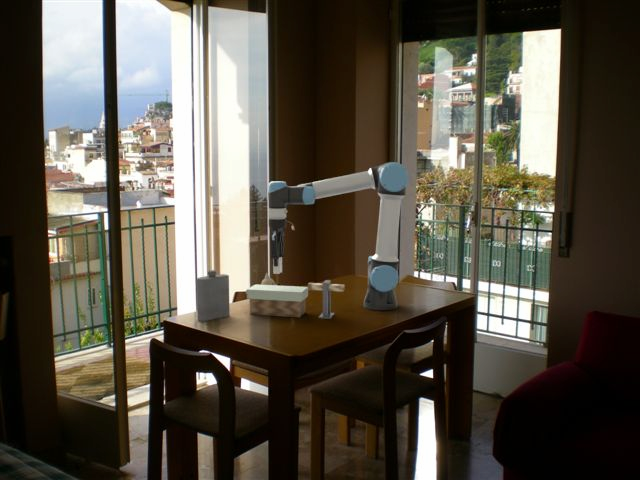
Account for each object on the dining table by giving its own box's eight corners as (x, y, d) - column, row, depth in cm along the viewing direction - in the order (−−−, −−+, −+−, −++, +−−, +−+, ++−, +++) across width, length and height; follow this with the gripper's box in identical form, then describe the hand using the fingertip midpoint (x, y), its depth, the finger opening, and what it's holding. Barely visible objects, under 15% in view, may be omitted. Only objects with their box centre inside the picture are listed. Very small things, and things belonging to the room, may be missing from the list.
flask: (223, 313, 295) (223, 267, 292) (231, 316, 291) (231, 269, 288) (194, 319, 285) (192, 272, 282) (201, 322, 281) (200, 274, 278)
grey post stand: (334, 314, 294) (334, 279, 292) (330, 318, 286) (330, 283, 284) (323, 313, 295) (323, 279, 293) (318, 318, 287) (318, 282, 285)
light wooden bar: (344, 290, 289) (344, 284, 289) (343, 291, 286) (343, 285, 286) (309, 288, 293) (309, 282, 292) (307, 290, 290) (307, 284, 289)
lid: (308, 296, 297) (308, 287, 297) (301, 301, 287) (301, 292, 286) (255, 293, 303) (255, 284, 302) (246, 298, 292) (246, 289, 292)
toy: (275, 306, 308) (275, 273, 306) (243, 305, 311) (243, 272, 308) (279, 303, 314) (279, 271, 312) (247, 302, 317) (247, 270, 314)
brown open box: (305, 312, 298) (305, 296, 297) (299, 317, 289) (299, 301, 288) (256, 309, 303) (256, 293, 302) (250, 314, 294) (249, 298, 293)
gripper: (280, 220, 282) (280, 276, 285) (291, 216, 297) (291, 270, 300) (263, 219, 283) (263, 275, 287) (274, 216, 299) (274, 269, 302)
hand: (277, 272), depth 293 cm, fingers open, 3 cm apart
